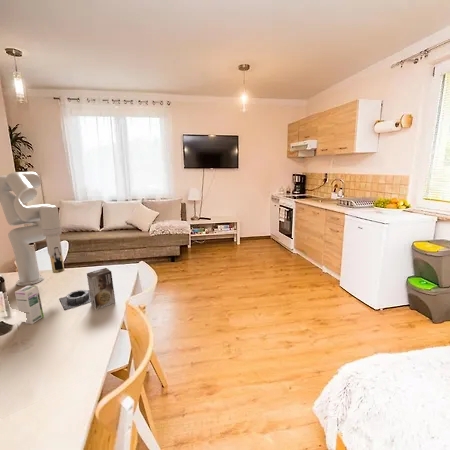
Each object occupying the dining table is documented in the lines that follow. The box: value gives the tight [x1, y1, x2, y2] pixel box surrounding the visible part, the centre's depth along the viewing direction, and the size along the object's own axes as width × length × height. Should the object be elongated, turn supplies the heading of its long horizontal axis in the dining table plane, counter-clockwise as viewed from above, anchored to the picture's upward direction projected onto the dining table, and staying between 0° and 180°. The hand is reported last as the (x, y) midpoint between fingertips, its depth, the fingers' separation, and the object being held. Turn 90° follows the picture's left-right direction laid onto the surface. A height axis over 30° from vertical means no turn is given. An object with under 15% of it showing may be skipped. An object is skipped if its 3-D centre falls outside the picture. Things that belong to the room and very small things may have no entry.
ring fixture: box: [59, 289, 91, 311], centre depth 132 cm, size 14×14×3 cm
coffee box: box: [86, 267, 116, 311], centre depth 125 cm, size 9×6×16 cm
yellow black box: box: [49, 254, 66, 274], centre depth 131 cm, size 5×5×8 cm
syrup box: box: [14, 285, 45, 325], centre depth 113 cm, size 6×6×14 cm
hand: (58, 267), depth 132 cm, fingers closed on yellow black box, 5 cm apart
